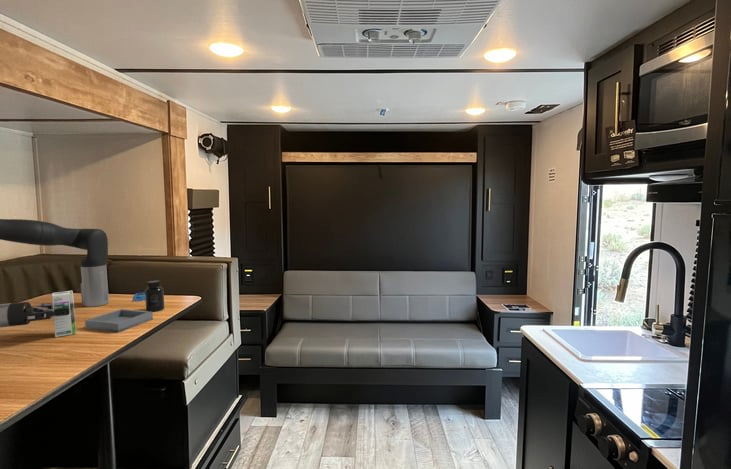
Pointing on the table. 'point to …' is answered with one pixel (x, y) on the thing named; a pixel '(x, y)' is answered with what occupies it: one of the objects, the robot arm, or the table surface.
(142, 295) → the handheld gaming device
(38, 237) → the robot arm
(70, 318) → the syrup box
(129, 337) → the table surface
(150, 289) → the supplement bottle
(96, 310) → the table surface
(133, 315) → the tray
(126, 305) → the table surface
